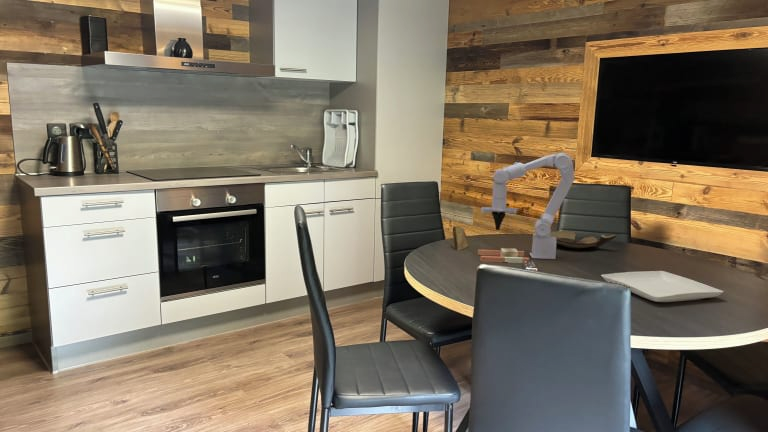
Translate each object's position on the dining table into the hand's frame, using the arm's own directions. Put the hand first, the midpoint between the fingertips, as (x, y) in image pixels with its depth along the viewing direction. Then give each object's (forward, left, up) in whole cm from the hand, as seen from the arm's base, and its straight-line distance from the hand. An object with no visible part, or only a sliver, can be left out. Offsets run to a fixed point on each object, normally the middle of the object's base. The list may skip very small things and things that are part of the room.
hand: (497, 229), depth 238 cm
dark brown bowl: (-38, -18, -11) cm, 43 cm away
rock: (+14, -9, -11) cm, 20 cm away
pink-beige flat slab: (-2, +9, -10) cm, 14 cm away
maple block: (-4, +9, -11) cm, 15 cm away
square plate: (-49, +47, -11) cm, 69 cm away
